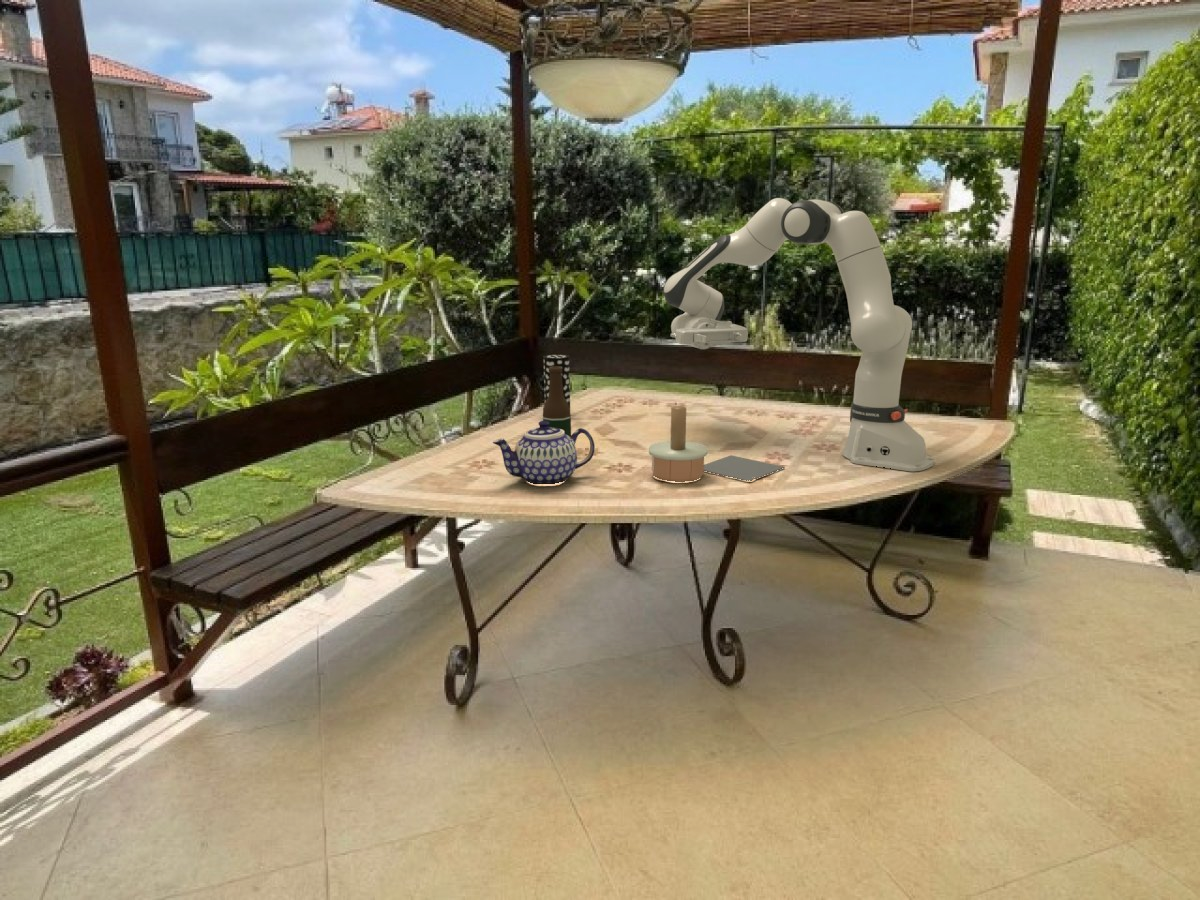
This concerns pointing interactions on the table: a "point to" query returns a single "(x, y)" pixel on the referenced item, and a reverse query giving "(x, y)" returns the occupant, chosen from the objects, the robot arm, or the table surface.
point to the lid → (678, 441)
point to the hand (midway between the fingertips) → (723, 338)
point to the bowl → (678, 469)
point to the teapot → (544, 454)
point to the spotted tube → (564, 363)
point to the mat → (740, 468)
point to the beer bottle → (557, 403)
